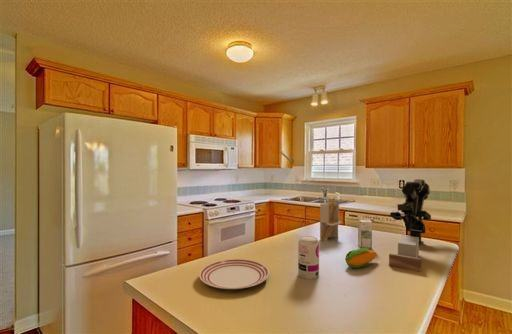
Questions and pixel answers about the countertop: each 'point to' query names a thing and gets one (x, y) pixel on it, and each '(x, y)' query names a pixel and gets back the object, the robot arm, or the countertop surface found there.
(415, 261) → the stop rail
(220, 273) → the dinner plate
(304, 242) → the supplement can
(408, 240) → the slab
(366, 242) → the syrup box
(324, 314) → the countertop surface
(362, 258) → the corn
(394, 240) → the countertop surface
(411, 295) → the countertop surface
